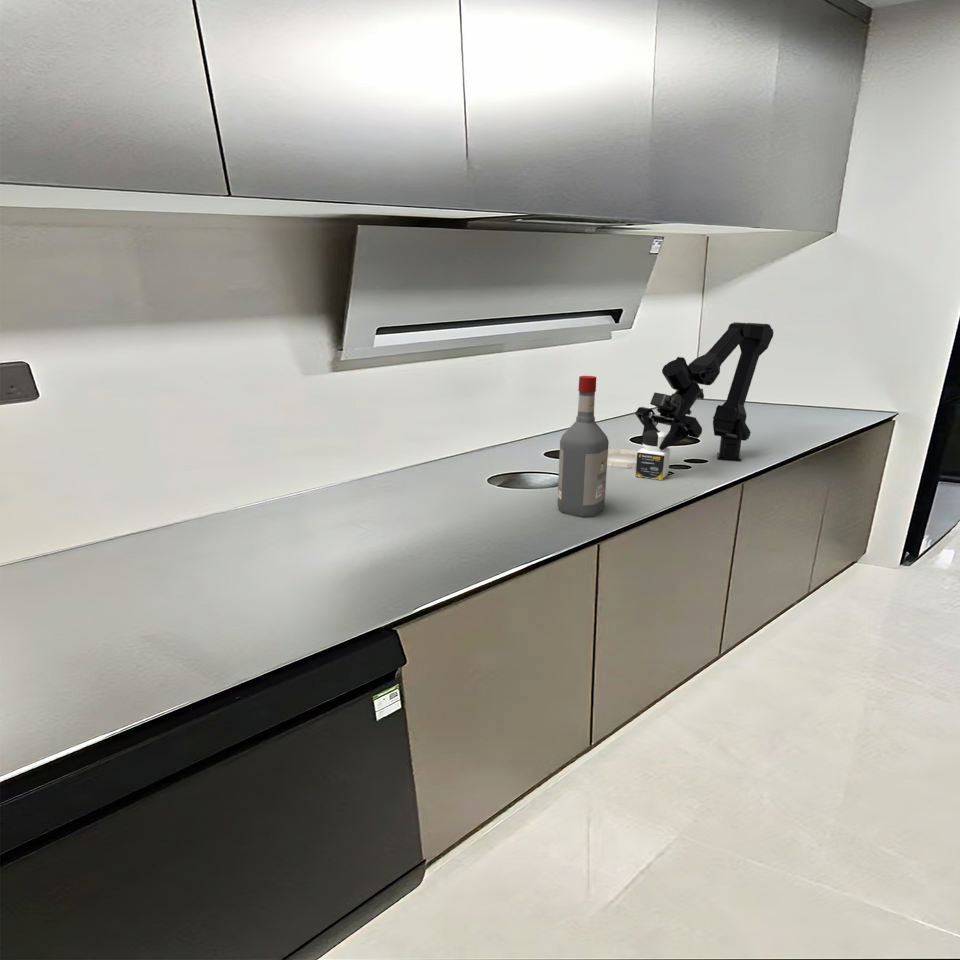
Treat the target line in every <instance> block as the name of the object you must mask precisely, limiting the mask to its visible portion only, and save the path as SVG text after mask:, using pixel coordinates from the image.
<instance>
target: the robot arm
mask: <svg viewBox="0 0 960 960" xmlns="http://www.w3.org/2000/svg"><path fill="white" fill-rule="evenodd" d="M773 329H774V328H772V325H770V324H769V323H761V322H760V323H758V322H739V321H738V322H736V321H734V322H732V323H730V324H729V326H728V328H727V330H726V331H725V332H724V333H723V334H722V335H721V337H720V338H718V340H717V341H716V342H715V343H714V344H713V346H712V347H710V349H709V350H708V351H707V352H706V353H704V354H703V355H700V356H698V357H696V358H694V360H692V361H691V362H690V363H689V364H688V363H687V361H686V358H685V357H682V356H677V357H676V358H675V359H673V360H671V361H669V362H667V363H666V364H664V365H663V367H662V370H661V372H662V374H663V377H664V378H665V379H666V382H667V383H668V385H669V387H670V388H671V389H673V390H675V392H674V393H672V394H671V395H669V394H666V393H659V392H654V393H653V395H652V396H651V397H652V398H651V399H650V403H649V404H650V405H651V406H654V407H656V408H657V409H656V411H657V413H659V414H656V413H655V411H654V410H653V409H652V408H649V407H645V406H641V407H638V408H637V409H636V411H635V412H634V415H635V416H636V417H637V418H638V420H639V422H640V423H641V425H642V426H643V431H642V435H641V438H640V443H639V444H640V445H641V446H643V434H644V433H645V432H646V431H650V430H657V431H659V430H658V428H657V426H658V425H659V424H662V425H666V426H669V427H670V428H669V431H668V433H666V434H667V435H666V437H665V438H664V440H663V442H662V443H661V445H660V447H659V449H660V450H664V449H665V448H668V447H671V446H673V445H674V444H676V443H678V442H680V441H683V440H686V439H689V438H694V439H699V438H700V437H701V435H702V433H703V428H702V426H701V424H700V422H699V421H698V419H697V418H696V417H695V416H690V415H692V410H691V408H692V407H693V405H694V403H695V402H696V401H697V399H699V400H704V399H705V394H704V389H703V388H701V387H700V385H702V386H703V385H704V386H711V385H713V383H714V382H715V381H716V380H717V378H718V377H719V376H720V374H721V367H722V364H723V363H724V362H725V361H726V360H727V359H728V357H729V356H730V355H731V354H732V353H733V352H734V351H735V349H736V348H737V347H738V346H739V348H740V355H739V358H738V360H737V361H738V362H737V365H736V368H735V371H734V375H733V379H732V380H731V385H730V388H729V390H728V395H727V398H726V401H724V402H723V404H718V405H717V406H716V408H715V412H714V414H713V417H712V419H713V420H712V426H713V428H712V429H713V435H714V436H715V437H720V443H719V452H717V453H716V456H717V458H716V459H717V460H728V461H736V462H737V461H738V462H739V461H742V456H741V454H740V453H741V447H742V441H744V442H745V441H747V440H749V439H750V436H751V430H750V428H749V426H748V425H747V423H746V422H747V421H746V420H747V412H746V409H745V402H746V399H747V398H748V397H747V396H748V394H749V390H750V387H751V383H752V381H753V377H754V374H755V371H756V368H757V365H758V362H759V357H760V356H762V354H763V353H764V352H766V350H768V348H769V346H770V343H771V341H772V339H773V337H774V330H773Z"/></svg>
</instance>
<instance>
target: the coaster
mask: <svg viewBox="0 0 960 960" xmlns="http://www.w3.org/2000/svg"><path fill="white" fill-rule="evenodd" d="M637 451H638V450H637V449H629V448H627V449H626V448H608V460H607V465H610V466H620V467H636V463H637ZM610 466H609V467H610Z"/></svg>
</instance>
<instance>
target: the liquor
mask: <svg viewBox="0 0 960 960" xmlns="http://www.w3.org/2000/svg"><path fill="white" fill-rule="evenodd" d="M578 378H579V379H578V405H577V416H576V418H575V419H576V420H575V421H574V423H572V425H570V427H569V428H568V429H567V430H566V431H565V432H564V433H563V434H562V436H561V438H560V439H559V440H560V441H559V455H558V456H559V458H558V483H557V507H558V509H559V510H560V511H561V512H562V513H563V514H567V515H571V516H576V517H580V518H589V517H591V518H592V517H594V516H596V515H598V514H599V513H600V512H602V511H603V510H604V509H605V504H606V503H605V501H606V489H607V488H606V486H607V470H608V466H607V460H608V449H609V444H610V443H609V438H608V436H607V435H606V433H605V432H604V431H603V430H602V428H601V427H600V426H599V425H598V424H597V422H596V418H595V417H596V416H595V400H596V398H595V395H596V394H595V393H596V390H597V376H593V375H581V376H579V377H578Z"/></svg>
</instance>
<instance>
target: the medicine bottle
mask: <svg viewBox="0 0 960 960" xmlns="http://www.w3.org/2000/svg"><path fill="white" fill-rule="evenodd" d="M642 434H643V433H642ZM667 434H668V433H666V432H664V431H661V430H658V431H657V430H650V431H646V432H645V433H644V434H643V445H642V447H641V448H640V449H639V450H637V463H636V468H635V477H636V476H638V477H637V478H641V477H645V478H644V479H648V478H652V479H651V480H655V479H659V480H658V481H663V480H664V479H665V477H667V476H668V474H669V470H670V469H669V468H670V457H671V449H670V448H668V447H667V448H665V449H664V450H660V449H659V447H660V445H661V443H662V442H663V440H664V438H665V437H666V435H667ZM663 478H664V479H663Z"/></svg>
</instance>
